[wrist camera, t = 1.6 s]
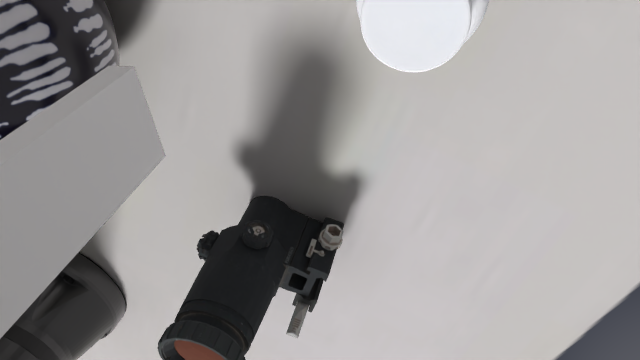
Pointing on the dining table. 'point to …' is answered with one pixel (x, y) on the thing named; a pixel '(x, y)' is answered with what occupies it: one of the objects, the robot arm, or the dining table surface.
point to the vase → (49, 53)
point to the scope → (251, 280)
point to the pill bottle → (418, 30)
